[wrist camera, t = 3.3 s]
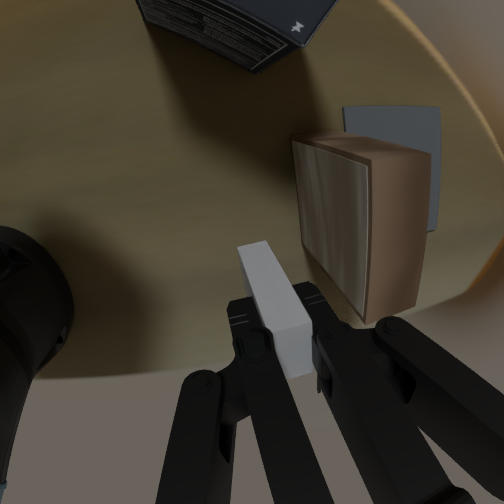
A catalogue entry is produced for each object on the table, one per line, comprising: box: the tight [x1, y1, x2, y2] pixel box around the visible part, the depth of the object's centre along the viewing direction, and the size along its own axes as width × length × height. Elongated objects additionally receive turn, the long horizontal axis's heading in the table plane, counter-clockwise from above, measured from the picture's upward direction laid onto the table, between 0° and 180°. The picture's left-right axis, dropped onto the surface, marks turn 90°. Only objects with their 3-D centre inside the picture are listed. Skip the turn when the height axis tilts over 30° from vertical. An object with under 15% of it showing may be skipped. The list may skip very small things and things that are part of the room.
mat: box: [342, 106, 441, 231], centre depth 26 cm, size 12×14×1 cm
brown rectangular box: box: [290, 130, 431, 325], centre depth 20 cm, size 4×10×12 cm, turn 9°
